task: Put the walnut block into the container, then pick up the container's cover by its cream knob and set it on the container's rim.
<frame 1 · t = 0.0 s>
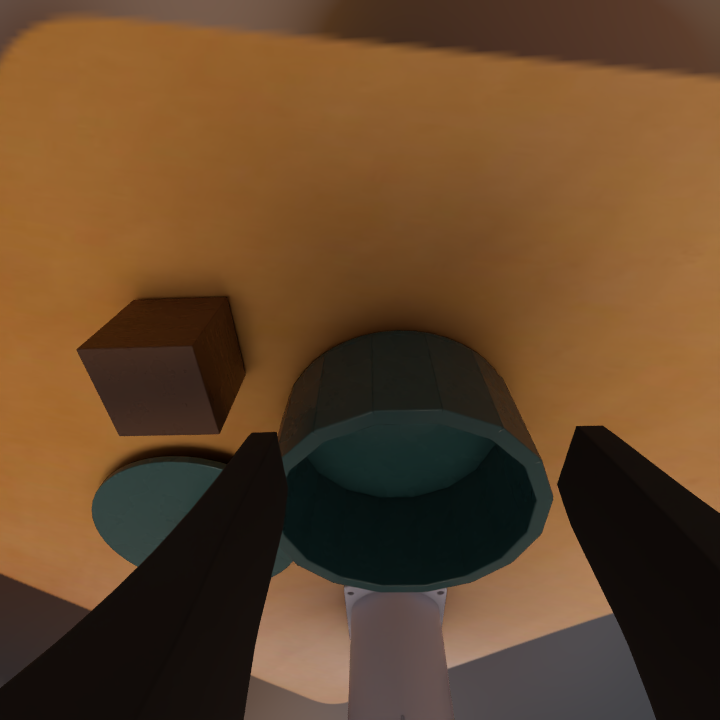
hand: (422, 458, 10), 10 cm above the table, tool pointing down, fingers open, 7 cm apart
cover: (201, 526, 27), point 1 cm above the table
container: (396, 427, 23), on the table
block: (192, 339, 20), on the table
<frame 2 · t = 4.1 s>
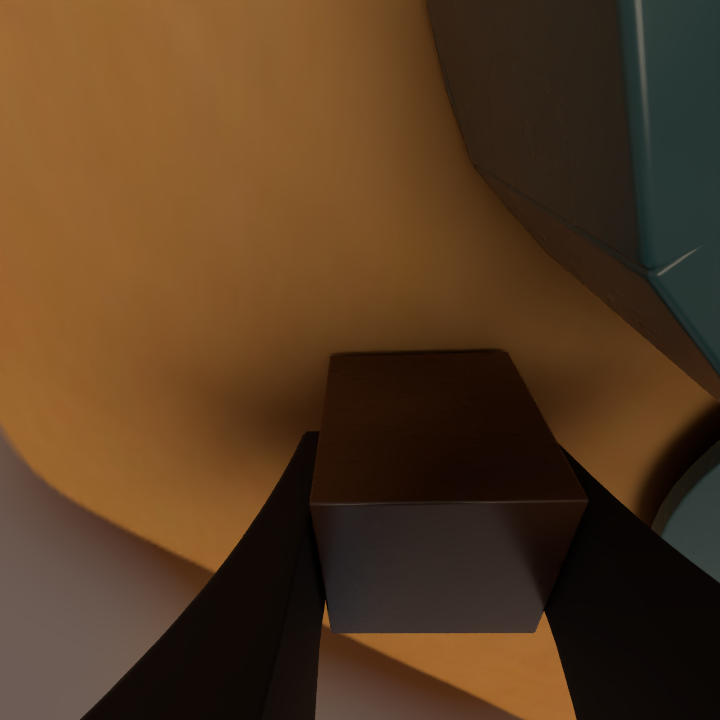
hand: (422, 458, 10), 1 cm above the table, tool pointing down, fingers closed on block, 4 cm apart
block: (415, 420, 11), on the table, touching gripper
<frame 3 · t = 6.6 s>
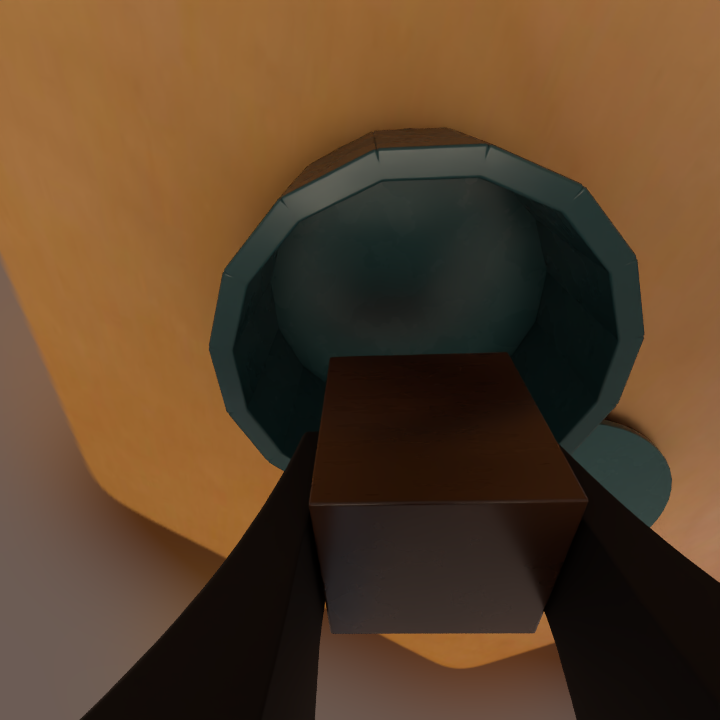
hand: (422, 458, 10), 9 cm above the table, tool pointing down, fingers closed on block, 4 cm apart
cover: (540, 504, 23), point 1 cm above the table
container: (405, 296, 17), on the table
block: (415, 420, 11), point 7 cm above the table, touching gripper
when the fingers open (2 cm above the table, at t = 8.9 s): block stays where it is, resting on container.
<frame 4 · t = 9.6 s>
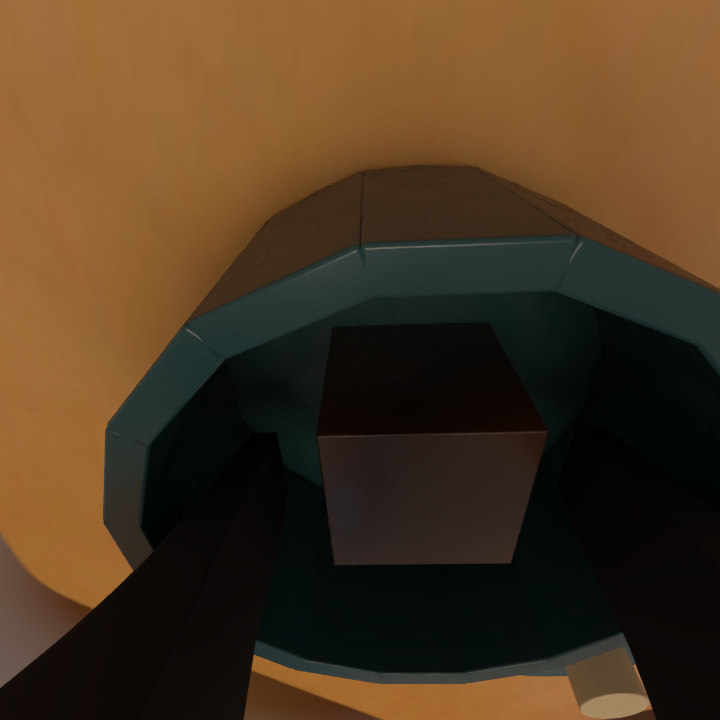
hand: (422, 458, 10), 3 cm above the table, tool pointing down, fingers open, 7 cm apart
cover: (573, 605, 19), point 1 cm above the table
container: (409, 379, 13), on the table
block: (408, 387, 13), resting on container
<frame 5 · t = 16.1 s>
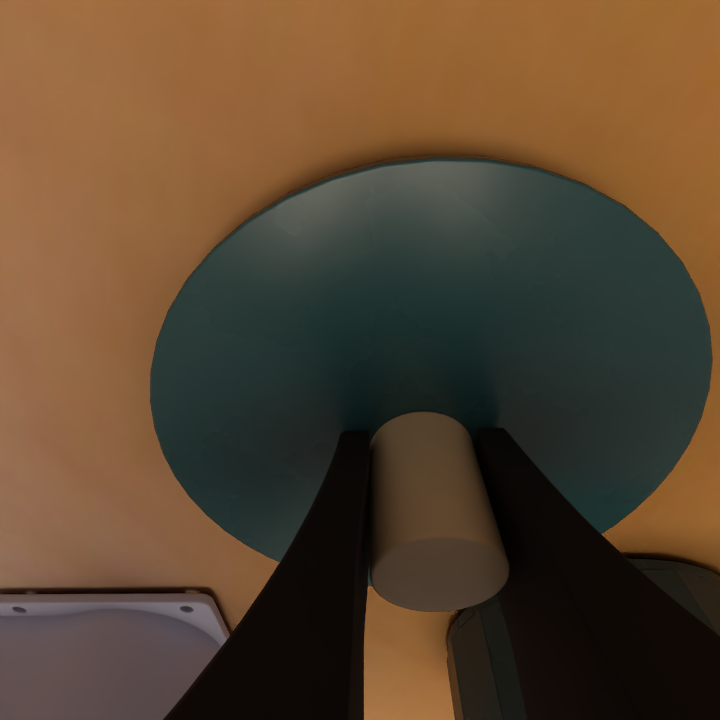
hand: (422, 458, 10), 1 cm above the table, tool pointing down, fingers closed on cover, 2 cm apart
cover: (418, 435, 11), point 1 cm above the table, touching gripper
container: (587, 637, 18), on the table
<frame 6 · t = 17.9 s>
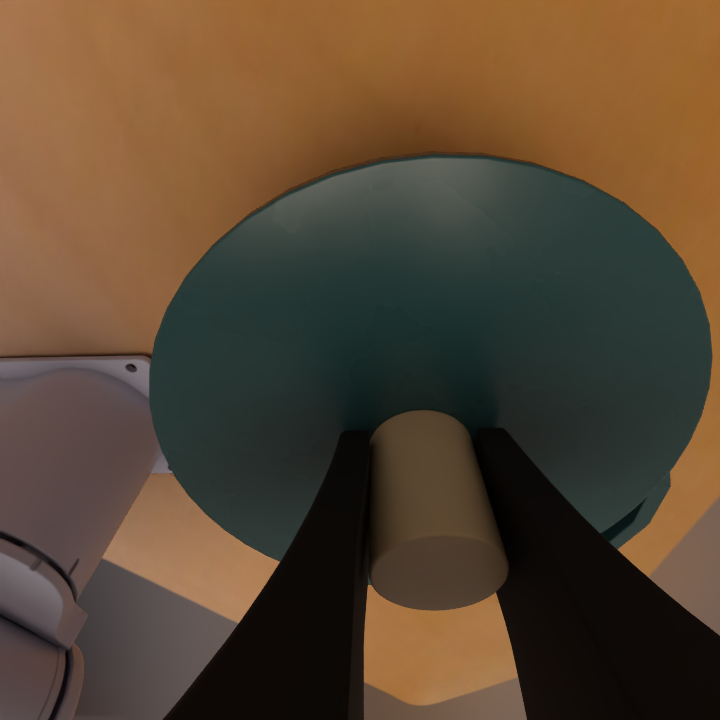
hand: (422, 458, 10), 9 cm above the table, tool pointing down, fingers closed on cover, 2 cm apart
cover: (417, 434, 11), point 9 cm above the table, touching gripper
container: (472, 412, 21), on the table
when the fingers open (7 cm above the table, at t = 19.7 s): cover stays where it is, resting on container.
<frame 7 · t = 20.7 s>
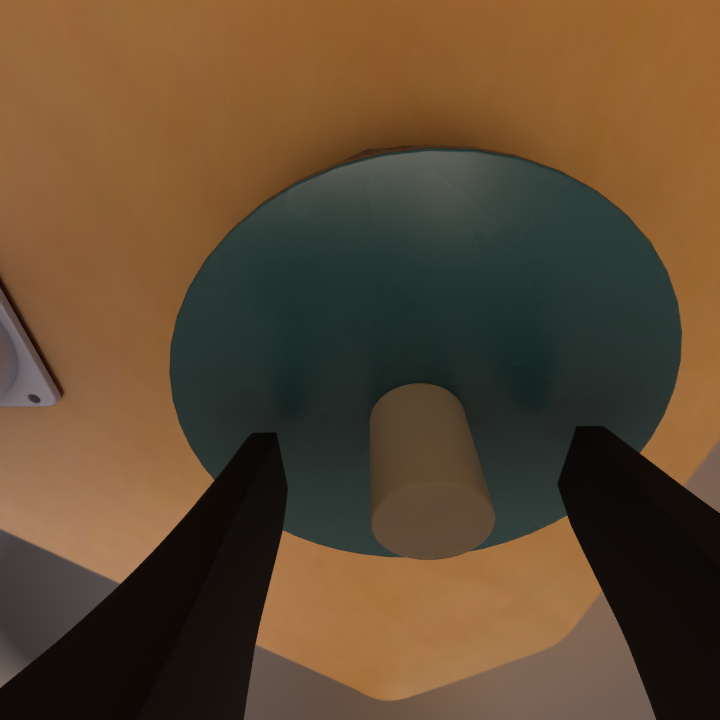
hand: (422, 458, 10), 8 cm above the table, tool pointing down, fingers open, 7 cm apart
cover: (415, 408, 12), point 6 cm above the table, touching container
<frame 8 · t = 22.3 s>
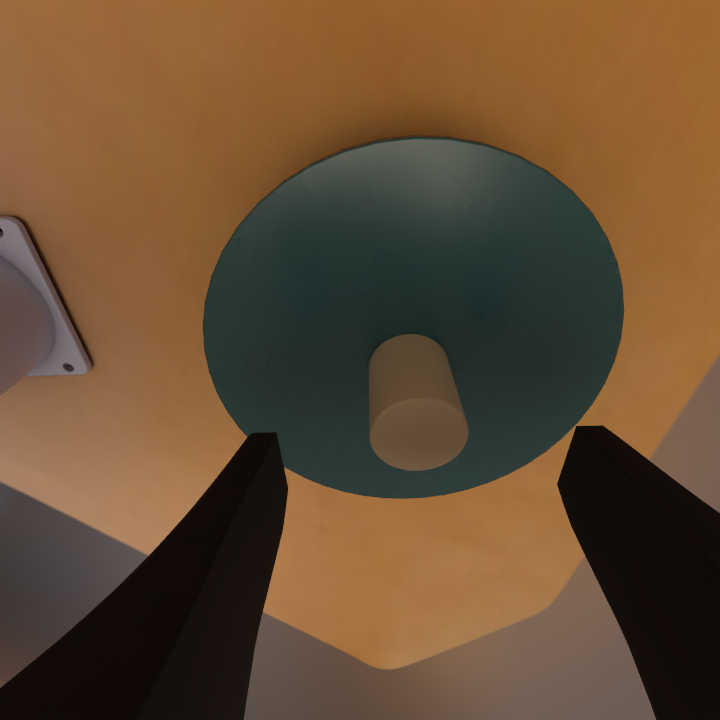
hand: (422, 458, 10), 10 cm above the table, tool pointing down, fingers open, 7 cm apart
cover: (407, 359, 14), point 6 cm above the table, touching container
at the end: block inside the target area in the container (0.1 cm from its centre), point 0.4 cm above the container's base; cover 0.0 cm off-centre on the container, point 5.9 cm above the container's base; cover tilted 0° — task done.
